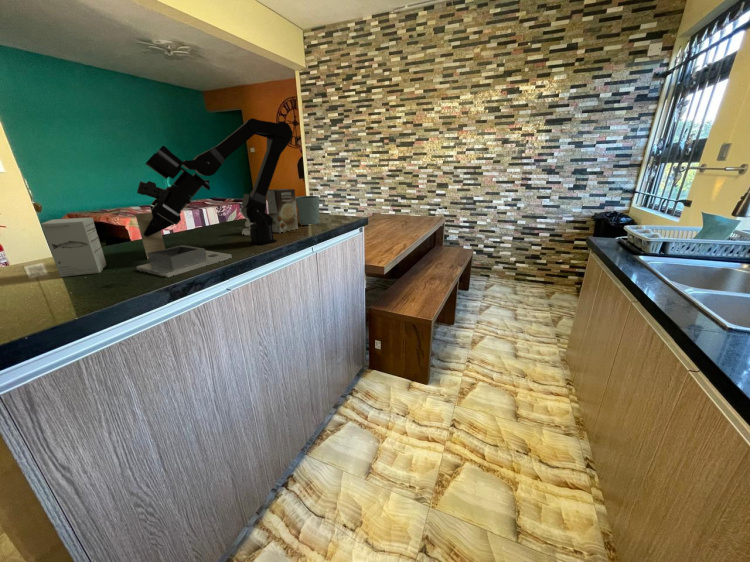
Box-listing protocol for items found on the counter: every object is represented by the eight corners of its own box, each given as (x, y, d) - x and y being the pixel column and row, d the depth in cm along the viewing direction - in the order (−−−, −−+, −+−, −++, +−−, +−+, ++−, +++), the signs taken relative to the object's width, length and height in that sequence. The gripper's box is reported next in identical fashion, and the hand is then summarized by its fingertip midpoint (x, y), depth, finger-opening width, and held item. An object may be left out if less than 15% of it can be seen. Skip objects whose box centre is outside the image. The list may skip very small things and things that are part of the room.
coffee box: (280, 233, 118) (275, 190, 113) (270, 231, 122) (264, 189, 116) (298, 229, 125) (295, 188, 120) (288, 228, 129) (284, 188, 123)
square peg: (166, 253, 91) (156, 212, 87) (167, 256, 87) (156, 214, 83) (147, 255, 88) (136, 213, 84) (147, 259, 85) (135, 215, 81)
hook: (225, 222, 111) (231, 209, 115) (245, 244, 120) (250, 231, 124) (243, 218, 109) (248, 205, 113) (262, 241, 118) (266, 228, 122)
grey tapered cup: (325, 223, 139) (323, 196, 135) (312, 227, 131) (310, 198, 126) (306, 221, 143) (304, 195, 139) (293, 225, 135) (290, 197, 130)
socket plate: (202, 253, 91) (200, 239, 90) (231, 257, 86) (229, 243, 85) (137, 270, 76) (132, 254, 74) (167, 277, 71) (163, 260, 70)
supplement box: (59, 278, 71) (38, 223, 66) (71, 269, 77) (52, 218, 72) (100, 273, 74) (82, 220, 69) (108, 265, 80) (92, 216, 76)
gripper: (152, 169, 89) (115, 211, 87) (154, 170, 75) (109, 219, 73) (189, 196, 96) (155, 235, 94) (197, 201, 82) (157, 247, 80)
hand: (145, 234), depth 85 cm, fingers closed on square peg, 5 cm apart
